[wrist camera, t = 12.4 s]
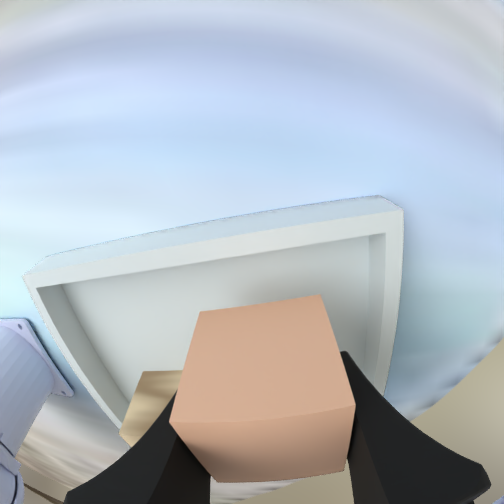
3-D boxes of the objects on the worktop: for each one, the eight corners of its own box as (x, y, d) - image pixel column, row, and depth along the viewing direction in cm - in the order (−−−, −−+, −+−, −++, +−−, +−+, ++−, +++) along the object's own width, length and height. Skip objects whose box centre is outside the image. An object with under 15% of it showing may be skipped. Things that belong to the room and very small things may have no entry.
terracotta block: (227, 387, 12) (217, 482, 8) (199, 311, 11) (168, 421, 6) (324, 375, 12) (343, 470, 7) (320, 294, 10) (355, 404, 6)
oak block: (168, 412, 18) (154, 469, 13) (142, 371, 16) (118, 433, 11) (228, 411, 17) (223, 473, 13) (210, 368, 16) (198, 440, 11)
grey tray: (144, 426, 20) (137, 449, 17) (46, 256, 14) (21, 275, 11) (365, 408, 18) (373, 434, 16) (379, 195, 12) (403, 209, 10)
